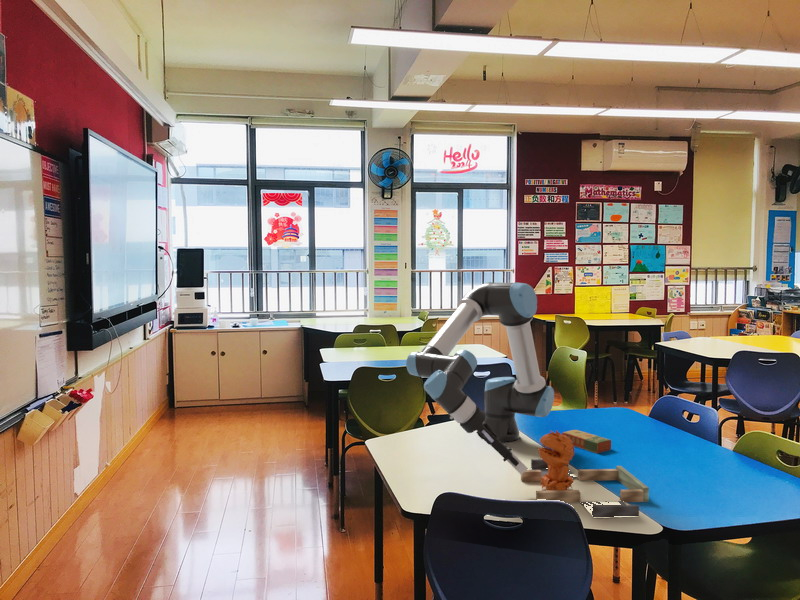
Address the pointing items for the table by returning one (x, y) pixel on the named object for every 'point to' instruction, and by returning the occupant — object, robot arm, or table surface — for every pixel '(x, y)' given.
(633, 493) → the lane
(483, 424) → the robot arm
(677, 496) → the table surface
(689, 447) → the table surface
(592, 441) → the carton
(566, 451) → the orange sculpted figure
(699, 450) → the table surface
